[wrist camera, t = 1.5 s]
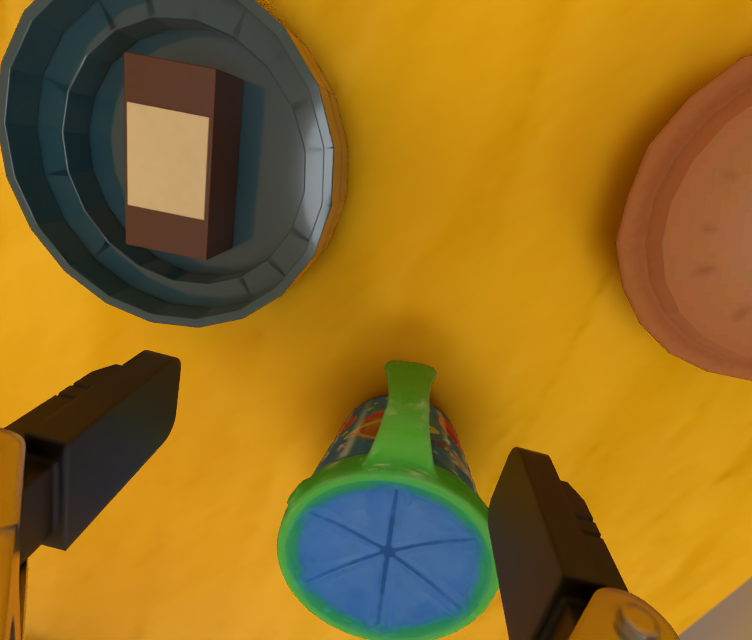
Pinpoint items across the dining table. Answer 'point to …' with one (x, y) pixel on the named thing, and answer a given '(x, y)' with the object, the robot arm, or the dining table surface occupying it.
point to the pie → (696, 229)
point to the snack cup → (391, 522)
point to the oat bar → (180, 155)
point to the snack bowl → (107, 150)
